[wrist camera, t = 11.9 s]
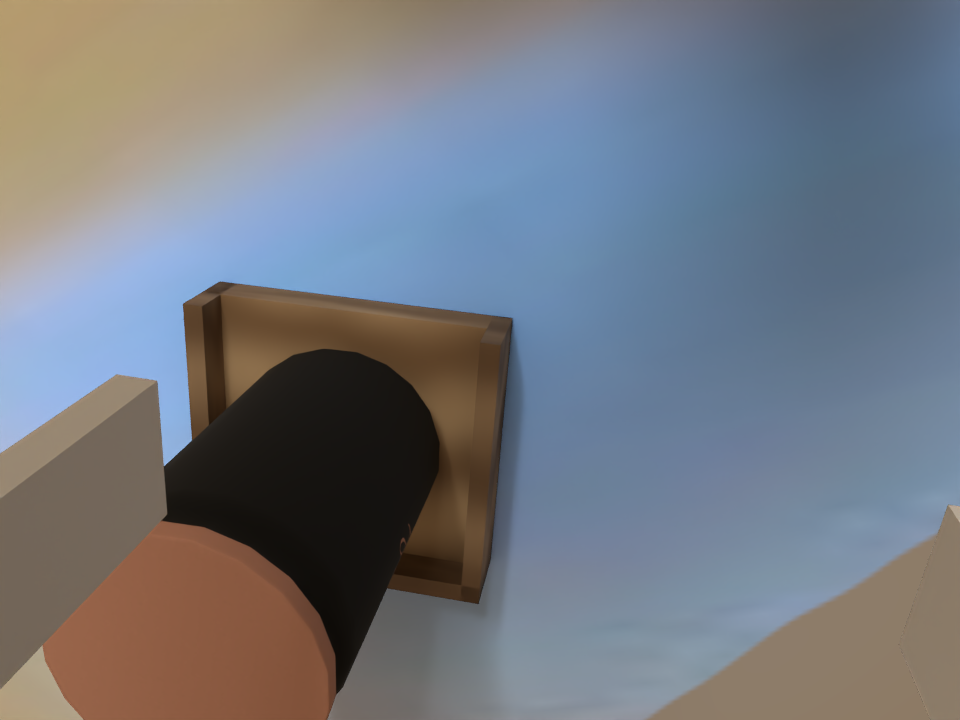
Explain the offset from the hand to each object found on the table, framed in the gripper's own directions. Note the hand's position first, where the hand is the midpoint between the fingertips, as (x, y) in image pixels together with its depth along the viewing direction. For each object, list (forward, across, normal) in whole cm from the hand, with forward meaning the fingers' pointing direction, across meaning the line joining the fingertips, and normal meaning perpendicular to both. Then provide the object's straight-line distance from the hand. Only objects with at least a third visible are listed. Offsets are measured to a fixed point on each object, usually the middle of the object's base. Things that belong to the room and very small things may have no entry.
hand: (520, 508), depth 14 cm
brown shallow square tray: (+28, -11, -14) cm, 34 cm away
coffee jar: (+26, -11, -14) cm, 32 cm away
